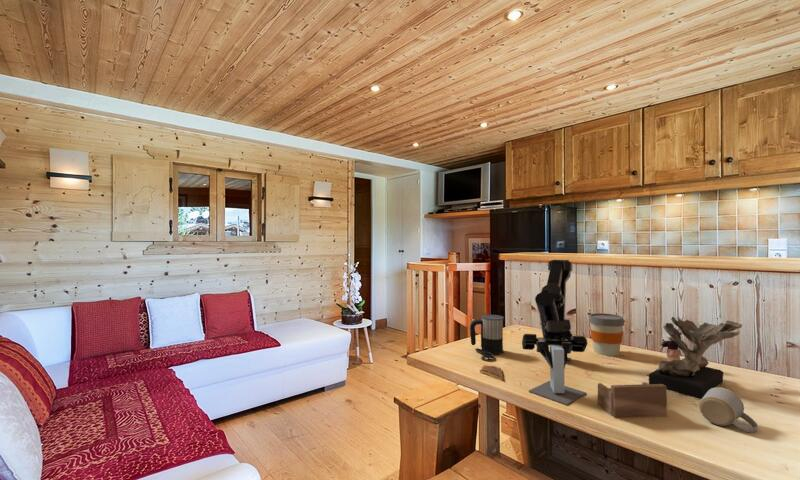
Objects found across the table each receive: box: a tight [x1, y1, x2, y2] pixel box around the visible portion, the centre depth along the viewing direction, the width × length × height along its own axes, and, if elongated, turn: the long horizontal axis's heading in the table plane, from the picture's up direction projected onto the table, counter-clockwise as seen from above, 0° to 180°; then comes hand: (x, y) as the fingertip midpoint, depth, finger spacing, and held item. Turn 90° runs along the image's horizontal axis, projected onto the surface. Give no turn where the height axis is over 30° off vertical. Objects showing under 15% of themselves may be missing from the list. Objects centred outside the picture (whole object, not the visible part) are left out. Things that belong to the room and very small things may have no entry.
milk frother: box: [469, 314, 505, 360], centre depth 149 cm, size 14×16×15 cm
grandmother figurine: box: [659, 333, 684, 361], centre depth 134 cm, size 8×4×13 cm, turn 65°
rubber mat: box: [528, 380, 587, 406], centre depth 111 cm, size 12×12×1 cm
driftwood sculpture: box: [648, 316, 743, 400], centre depth 116 cm, size 25×20×22 cm
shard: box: [479, 364, 504, 381], centre depth 127 cm, size 11×8×2 cm
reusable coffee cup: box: [588, 312, 625, 357], centre depth 150 cm, size 13×13×15 cm
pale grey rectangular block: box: [549, 345, 565, 393], centre depth 111 cm, size 5×3×13 cm, turn 169°
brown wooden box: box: [597, 381, 668, 419], centre depth 100 cm, size 8×14×8 cm, turn 92°
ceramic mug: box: [698, 386, 759, 433], centre depth 92 cm, size 11×8×8 cm
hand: (558, 368), depth 110 cm, fingers closed on pale grey rectangular block, 3 cm apart
